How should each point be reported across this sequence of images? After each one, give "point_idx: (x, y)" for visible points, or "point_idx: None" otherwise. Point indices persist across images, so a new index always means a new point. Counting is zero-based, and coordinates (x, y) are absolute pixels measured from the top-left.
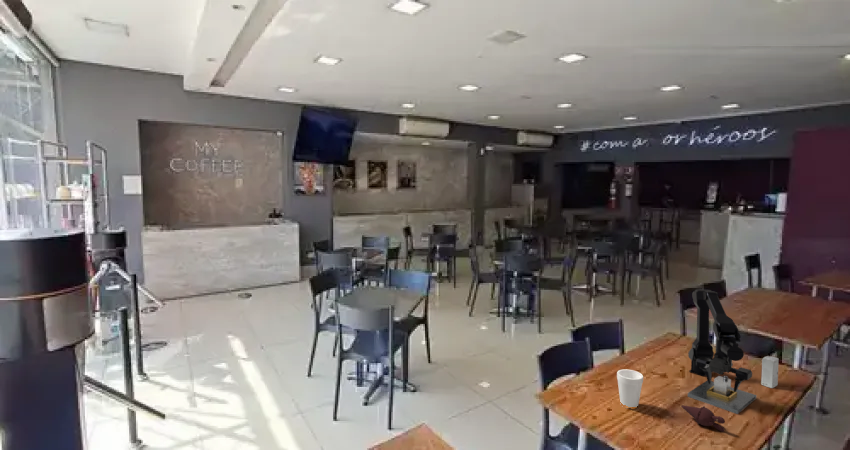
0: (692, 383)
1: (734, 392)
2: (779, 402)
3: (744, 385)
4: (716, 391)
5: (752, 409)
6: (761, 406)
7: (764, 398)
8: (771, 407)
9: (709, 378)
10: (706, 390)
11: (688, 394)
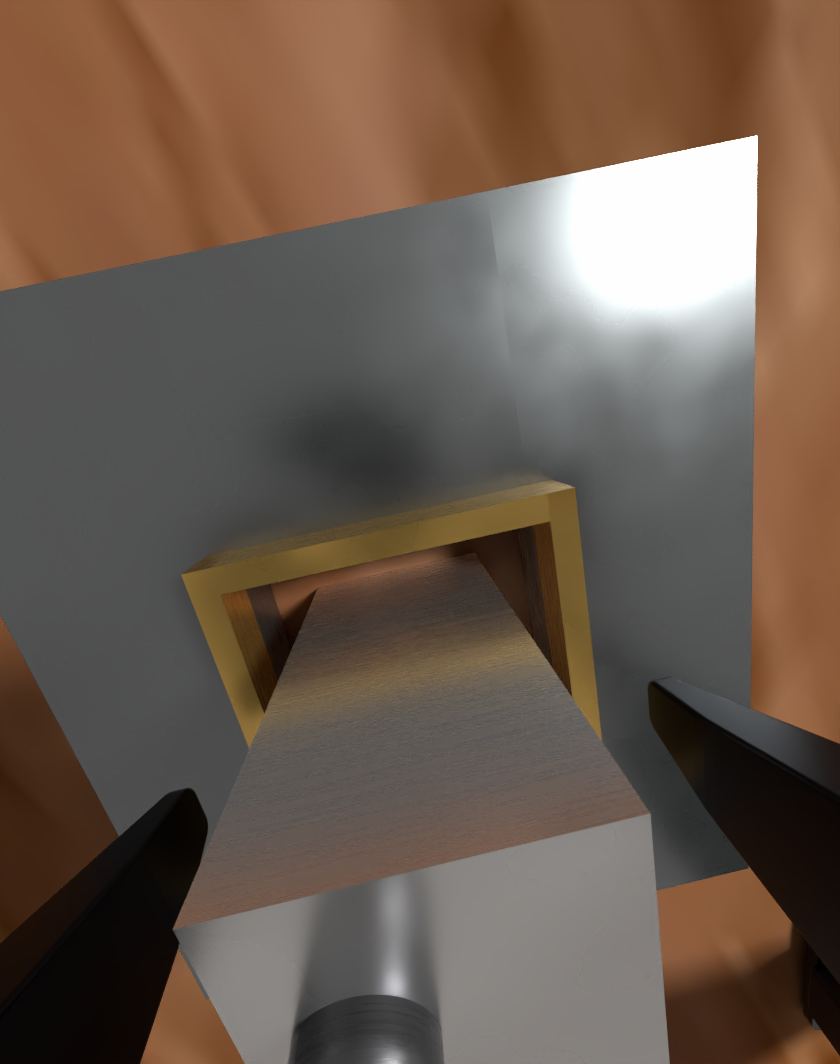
0: (827, 668)
1: None
2: None
3: None
4: (454, 602)
5: (16, 685)
6: (55, 841)
7: (198, 1004)
8: (3, 908)
9: (772, 777)
10: (606, 573)
11: (720, 154)
